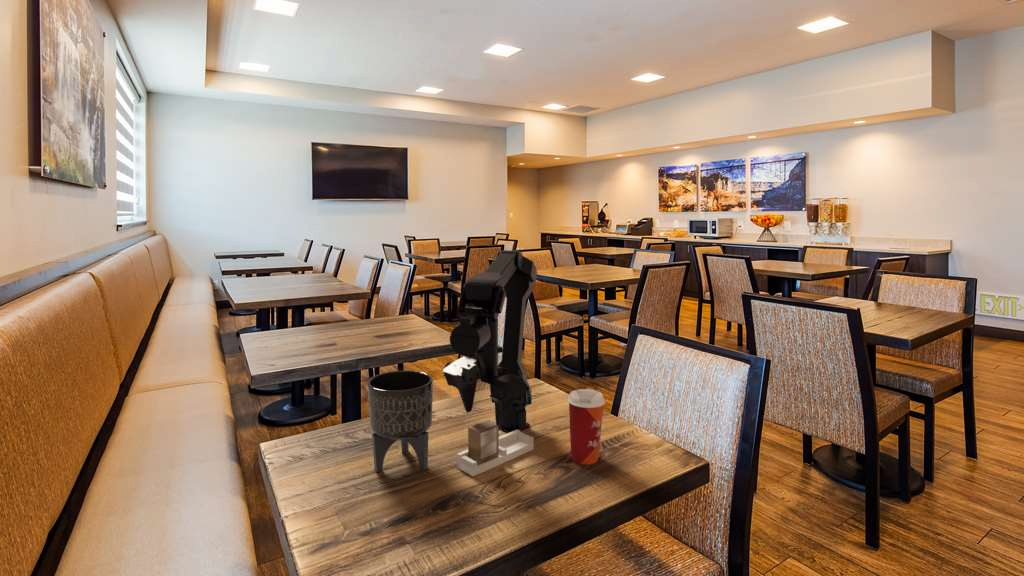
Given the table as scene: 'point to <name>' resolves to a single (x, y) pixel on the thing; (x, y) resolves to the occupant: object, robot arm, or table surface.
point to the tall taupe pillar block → (483, 441)
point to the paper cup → (585, 425)
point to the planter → (400, 413)
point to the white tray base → (508, 449)
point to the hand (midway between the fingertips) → (483, 418)
